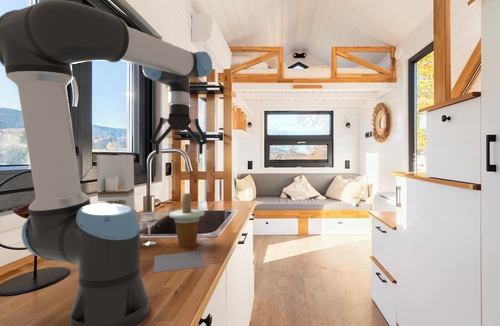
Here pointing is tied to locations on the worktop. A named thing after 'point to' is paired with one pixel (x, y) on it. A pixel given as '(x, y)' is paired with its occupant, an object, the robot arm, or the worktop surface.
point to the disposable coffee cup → (187, 231)
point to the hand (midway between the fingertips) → (179, 163)
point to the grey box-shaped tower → (116, 179)
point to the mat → (177, 261)
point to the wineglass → (148, 222)
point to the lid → (186, 209)
